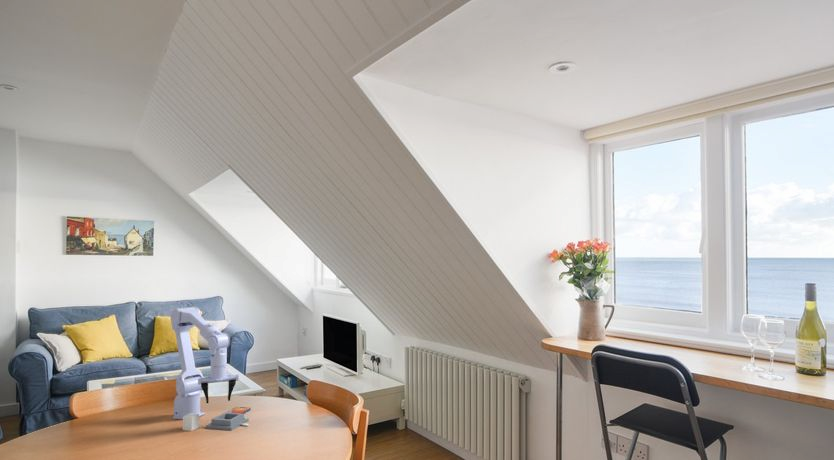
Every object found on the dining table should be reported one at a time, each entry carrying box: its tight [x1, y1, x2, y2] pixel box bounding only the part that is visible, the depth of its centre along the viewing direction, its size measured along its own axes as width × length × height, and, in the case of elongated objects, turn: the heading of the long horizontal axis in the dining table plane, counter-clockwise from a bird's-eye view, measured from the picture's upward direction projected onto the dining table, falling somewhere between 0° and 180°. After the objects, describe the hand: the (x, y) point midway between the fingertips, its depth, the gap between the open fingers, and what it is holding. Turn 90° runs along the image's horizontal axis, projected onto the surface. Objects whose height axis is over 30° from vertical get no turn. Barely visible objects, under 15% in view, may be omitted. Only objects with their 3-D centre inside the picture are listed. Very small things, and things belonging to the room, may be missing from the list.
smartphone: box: [226, 406, 251, 415], centre depth 202 cm, size 7×15×1 cm, turn 169°
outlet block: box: [205, 411, 250, 431], centre depth 190 cm, size 14×11×3 cm
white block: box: [182, 413, 200, 432], centre depth 186 cm, size 4×4×5 cm
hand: (218, 401), depth 190 cm, fingers open, 7 cm apart
